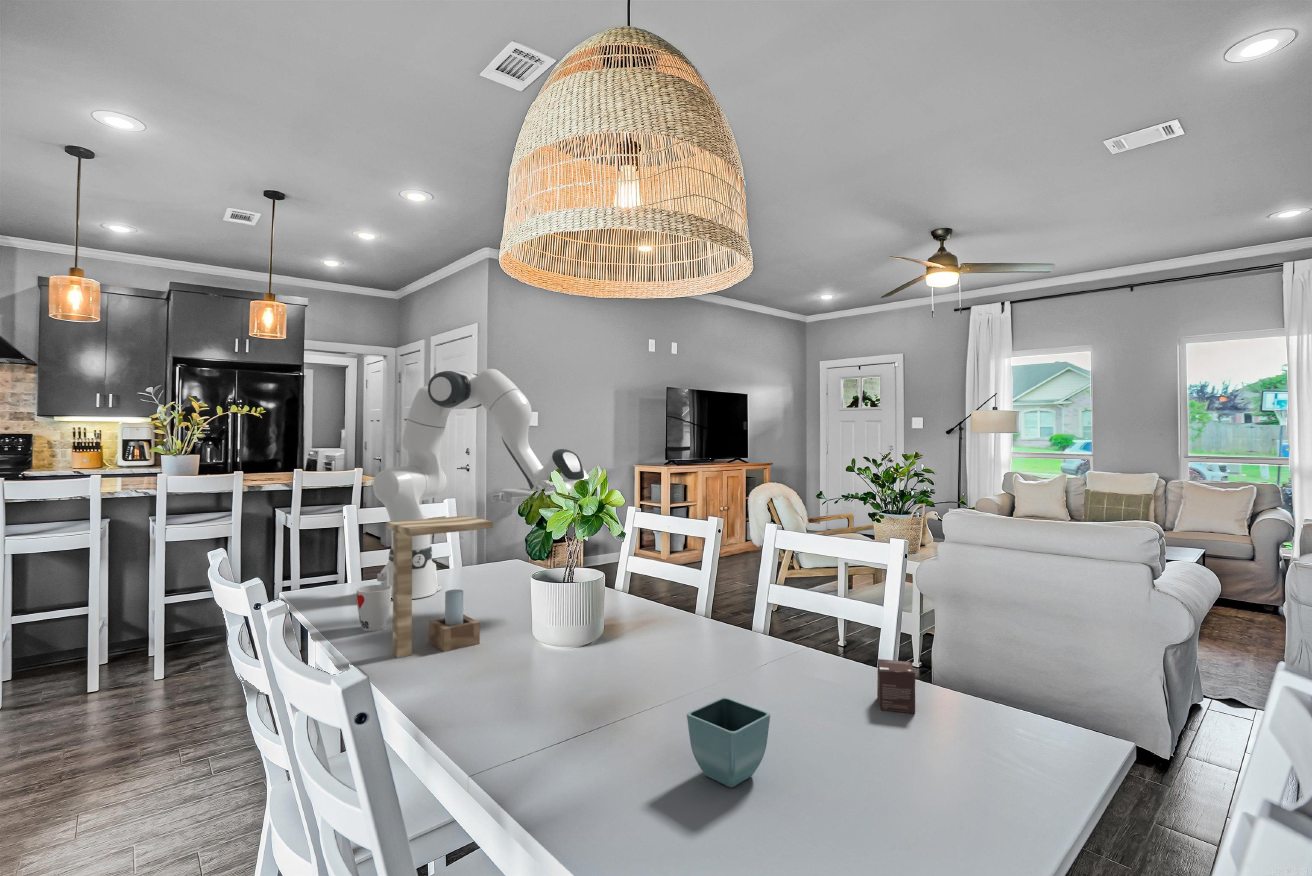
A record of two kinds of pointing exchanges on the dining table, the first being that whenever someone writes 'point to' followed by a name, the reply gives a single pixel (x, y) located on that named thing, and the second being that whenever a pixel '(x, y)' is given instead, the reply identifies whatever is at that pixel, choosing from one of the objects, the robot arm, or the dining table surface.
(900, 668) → the box
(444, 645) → the socket block
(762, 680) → the dining table surface
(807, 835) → the dining table surface
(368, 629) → the cup
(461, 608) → the peg
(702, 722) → the flower pot
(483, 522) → the wooden l-shaped post
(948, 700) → the dining table surface
